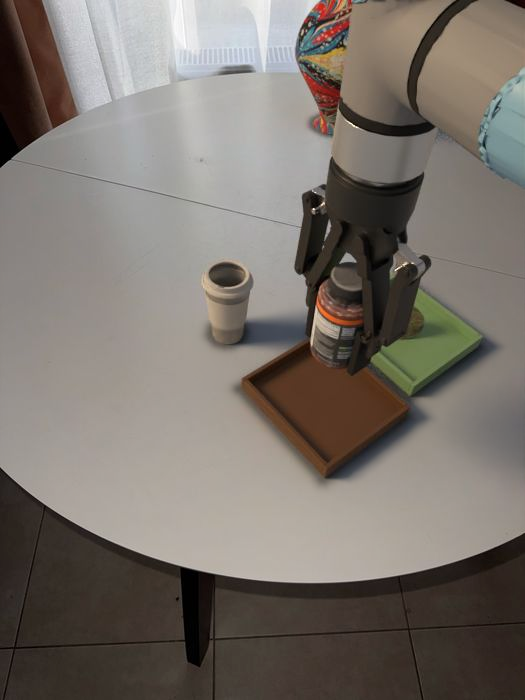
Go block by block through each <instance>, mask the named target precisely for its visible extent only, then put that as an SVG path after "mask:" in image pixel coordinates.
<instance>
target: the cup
mask: <svg viewBox="0 0 525 700" xmlns="http://www.w3.org/2000/svg"><path fill="white" fill-rule="evenodd" d="M254 284H255V282H254V277H253V275H252V273H251V272H250V270H249V268H248V267H247V266H246V265H245V264H244V263H242V262H240V261H238V260H234V259H226V258H225V259H220V260H216V261H213V262H211V263H210V264H209V265H208V266H207V267H206V270H205V271H203V273H202V276H201V286H202V288H203V290H204V294H205V299H206V306H207V307H206V308H207V313H208V319H209V322H210V326H211V327H210V328H211V335H212V337H213V339H214V340H215V341H216V342H217V343H220V344H222V345H234V344H236V343H238V342H240V341H241V339H242V338H243V336H244V331H245V325H246V324H245V323H246V321H247V315H248V308H249V302H250V294H251V291H252V289H253V287H254Z"/></svg>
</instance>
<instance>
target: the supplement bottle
mask: <svg viewBox="0 0 525 700" xmlns="http://www.w3.org/2000/svg"><path fill="white" fill-rule="evenodd" d="M363 327H364V316H363V298H362V279H361V277H359V276H358V275H357V263H356V261H343V262H340V263H339V264H338V265H336V266H335V267H334V268H333V270H332V272H331V277H330V278H328V279H327V280H325V281H324V282H323V283H322V285H321V286H320V288H319V291H318V296H317V302H316V307H315V314H314V321H313V327H312V328H311V329H312V334H311V343H310V348H311V352H312V355H313V356H314V358H315V359H316V360H317V361H318V362H319V363H321V364H322V365H324V366H326V367H329V368H333V369H346V368H348V365H349V361H350V357H351V353H352V349H353V345H354V341H355V337H356V333H357V331H359V330H360V329H362V328H363Z"/></svg>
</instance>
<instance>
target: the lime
mask: <svg viewBox="0 0 525 700" xmlns="http://www.w3.org/2000/svg"><path fill="white" fill-rule="evenodd" d="M423 327H424V316H423V314H422V313H421V312H420V311H419V309H418V308H417V307H415V306H414V307H413V310H412V314H411V318H410V322H409V325H408V329H407V333H406V335H404V336H403V337H401V338H400V339H407V338H410V337H413V336H415V335H417V334H418V333H420V332H421V330H422V329H423Z"/></svg>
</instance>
